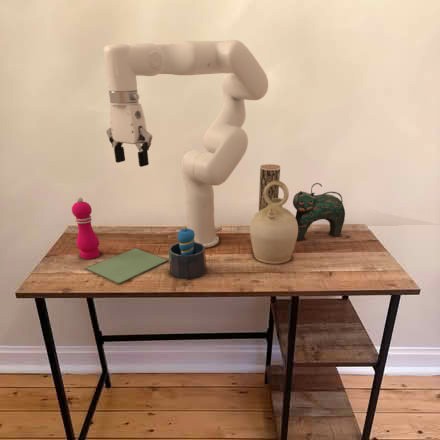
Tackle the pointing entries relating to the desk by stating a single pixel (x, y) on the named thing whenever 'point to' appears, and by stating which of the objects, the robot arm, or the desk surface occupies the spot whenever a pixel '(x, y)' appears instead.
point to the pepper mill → (85, 230)
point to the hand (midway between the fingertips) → (132, 163)
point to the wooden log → (267, 176)
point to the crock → (187, 262)
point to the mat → (127, 265)
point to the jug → (274, 229)
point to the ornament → (186, 241)
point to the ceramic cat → (318, 211)
